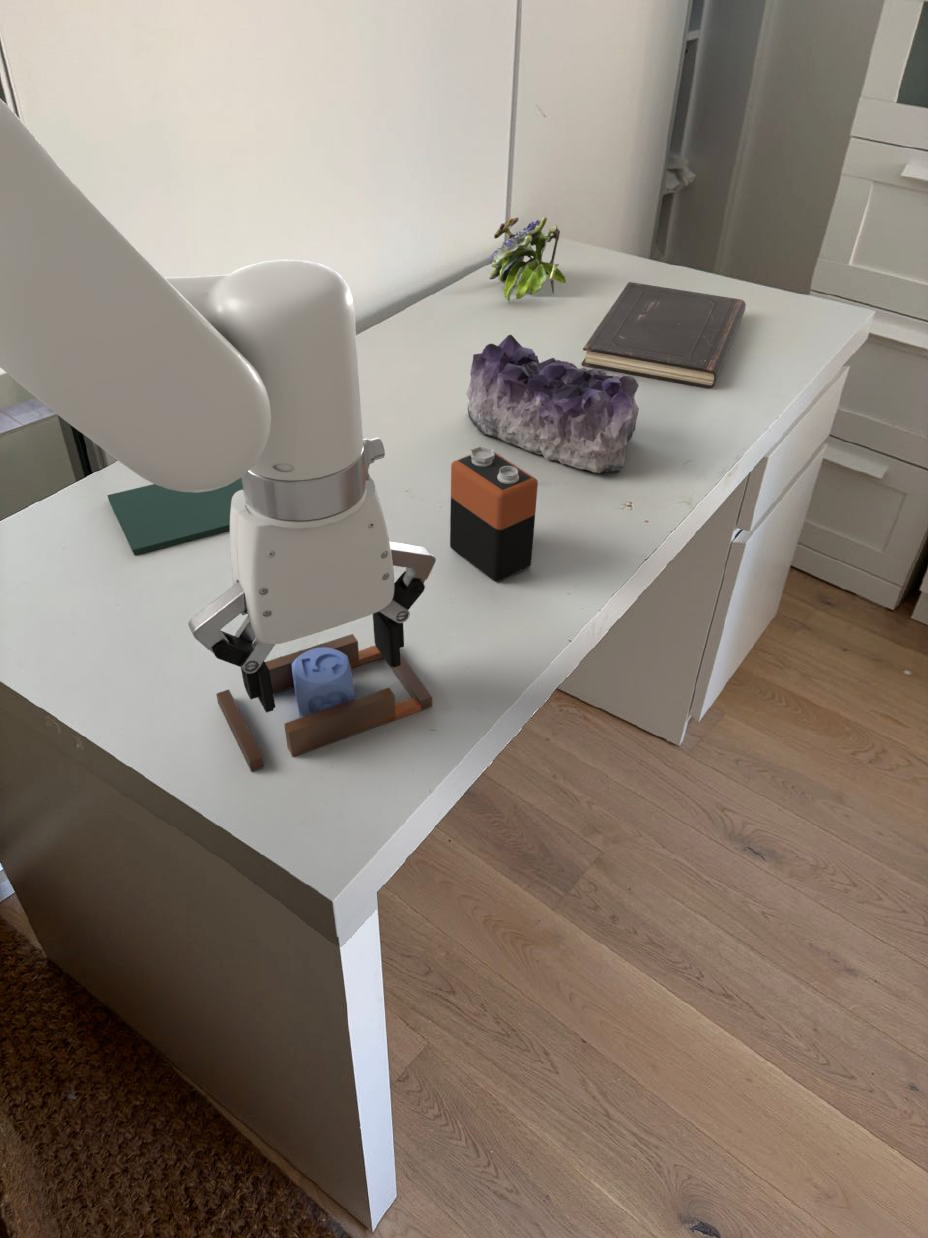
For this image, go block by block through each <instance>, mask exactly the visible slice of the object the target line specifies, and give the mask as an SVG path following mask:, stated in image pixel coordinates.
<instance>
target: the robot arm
mask: <svg viewBox="0 0 928 1238" xmlns="http://www.w3.org/2000/svg"><path fill="white" fill-rule="evenodd" d="M356 329H357V328H356V317H355V306H354V299H353V295H352V292H351V289H350V287H349V285H348V283H347V282H346V281H345V280H344V278H343V277H342V276H341V274H340V273H338V272H337V271H335V270H333V268H331V267H328V266H326V265H324V264H320V263H318V262H313V261H308V260H299V259H275V260H273V259H272V260H266V261H260V262H257V263H251V264H249V265H245V266H242V267H240V268H237V269H235V270H234V271H232V272H231V273H228V274H227V273H226V274H217V275H216V274H213V275H199V276H198V275H197V276H193V275H192V276H164V275H163V274H161V273H160V271H158V270H157V268H156V267H155V266H154V265H152V263H150V261H149V260H148V259H147V258H146V257H145V256H144V255H143V254H142V253H141V252H140V251H139V250H138V249H137V248H136V247H135V246H134V245H133V244H132V243H131V242H130V241H129V240H128V239H127V238H126V237H125V236H124V235H123V234H122V233H121V231H119V229H118V228H116V226H115V225H114V224H112V222H111V221H110V220H109V219H108V218H107V217H106V216H105V215H104V214H103V213H102V212H101V211H100V210H99V209H98V207H96V205H95V204H94V203H93V202H92V201H91V200H90V199H89V198H88V197H87V196H86V195H85V193H84V192H83V191H81V189H80V188H79V187H78V186H77V184H75V183H74V182H73V180H72V179H71V178H70V177H69V175H67V174H66V173H65V171H64V170H63V169H62V168H61V167H60V166H59V164H58V163H57V162H56V161H55V159H54V158H53V156H52V155H50V153H49V152H48V151H47V149H46V148H45V147H44V146H43V144H42V143H41V142H40V141H39V139H38V138H36V136H35V135H34V134H33V133H32V131H31V130H30V129H29V128H28V126H27V125H26V124H25V122H23V120H21V118H20V117H19V116H18V115H17V113H15V112H14V111H13V109H11V107H9V105H8V104H7V103H6V102H5V101H4V100H3V98H1V97H0V369H2V371H4V372H5V373H6V374H7V375H8V376H9V377H11V378H12V379H13V380H15V381H16V382H17V384H19V385H20V386H21V387H23V388H24V389H25V390H26V391H27V392H29V393H30V394H31V395H32V396H34V397H35V398H36V399H37V400H38V401H40V403H42V404H43V405H44V406H46V407H47V408H48V409H50V410H51V411H52V412H54V413H55V414H56V415H57V416H58V417H60V418H61V419H63V420H64V421H65V422H66V423H68V424H69V425H70V426H71V427H72V428H74V429H76V430H77V431H78V432H79V433H81V434H82V435H83V436H85V437H86V438H87V439H89V440H90V441H91V442H93V443H94V444H95V445H96V446H98V447H99V448H101V449H102V450H103V451H105V452H106V453H107V454H108V455H110V456H111V457H113V458H114V459H115V460H116V461H118V462H119V463H121V464H122V465H123V466H125V467H126V468H128V469H129V470H130V471H131V472H133V473H135V474H136V475H138V476H139V477H140V478H142V479H143V480H145V481H148V482H149V483H151V484H156V485H158V486H161V487H164V488H167V489H170V490H175V491H180V492H194V493H199V492H206V491H213V490H216V489H219V488H222V487H225V486H227V485H229V484H231V483H233V482H235V481H236V480H238V479H240V478H241V481H242V487H243V490H240V491H238V492H236V493H235V494H234V495H233V497H232V501H231V511H230V530H229V546H230V561H231V562H230V563H231V572H232V573H231V574H232V582H233V585H232V586H230V588H228V589H227V590H226V591H225V592H223V593H222V594H220V595H219V596H218V597H217V598H216V599H214V600H213V601H212V602H211V603H209V604H208V605H207V606H205V607H204V608H203V609H201V610H200V611H199V612H197V613H196V614H195V615H194V616H193V617H191V618H190V619H189V621H188V623H187V624H188V627H189V629H190V631H191V634H192V636H193V637H194V639H195V640H196V641H198V642H199V643H200V644H201V645H202V646H203V647H204V648H206V649H207V650H208V651H210V652H211V653H212V654H213V655H214V657H215V658H216V659H218V660H220V661H223V662H226V663H229V664H231V665H234V666H237V667H239V668H240V671H241V675H242V676H241V677H242V681H243V686H244V689H245V692H246V694H247V696H248V698H249V699H250V700H253V699H258V701H259V702H260V704H261V706H262V708H263V710H264V712H265V713H266V714H267V713H269V712H272V711H274V709H275V708H276V702H275V696H274V695H275V694H273V689H272V683H271V677H270V672H269V669H268V667H267V665H266V663H265V662H266V661H265V660H266V659H267V658H268V656H269V655H270V653H271V652H272V650H273V649H274V647H275V646H276V645H280V644H285V643H288V642H292V641H295V640H298V639H302V638H305V637H308V636H311V635H314V634H318V633H321V632H324V631H327V630H330V629H333V628H336V627H339V626H342V625H346V624H348V623H351V622H354V621H357V620H359V619H360V620H361V619H363V618H365V617H368V616H371V615H372V623H373V624H372V626H373V638H374V639H373V640H374V646H375V645H376V647H377V649H378V650H379V651H380V653H381V654H382V656H383V657H384V658H383V657H382V658H383V659H384V660H385V662H386V661H387V662H386V663H387V665H388V664H389V665H388V667H393V668H395V667H397V666H400V665H401V660H400V653H401V648H404V647H405V634H404V631H405V630H404V623H405V622H407V620H408V619H410V615H411V612H410V611H409V610H410V608H411V607H412V606H414V604H415V603H416V602H417V600H418V599H419V598H420V597H421V596H422V594H423V593H424V591H425V589H426V586H425V582H426V581H427V580H428V579H429V577H430V575H431V573H432V570H433V568H434V566H435V564H436V561H437V559H436V557H435V556H434V554H433V553H432V552H431V551H430V550H429V548H428V547H427V546H422V545H415V544H409V543H402V542H397V541H390V537H389V531H388V527H387V522H386V520H385V519H386V518H385V514H384V511H383V507H382V503H381V499H380V496H379V493H378V490H377V487H376V484H375V481H374V480H373V478H372V477H371V476H370V473H369V468H370V465H371V464H374V463H375V461H377V460H381V459H385V454H386V451H385V446H384V444H383V441H382V439H381V438H380V437H374V438H371V439H369V438H364V435H363V422H362V407H361V404H362V403H361V392H360V376H359V375H360V374H359V363H358V362H359V361H358V359H359V358H358V348H357V346H358V345H357V330H356ZM394 567H401V568H405V571H404V572H402V573H401V574H400V575H399V577H398V578H397V579H396V581H395V570H394ZM239 615H242V616H246V615H247V616H246V618H245V619H244V620H243V622H242V623H241V625H240V627H238V630H237V631H236V633H235V634H234V635H233V634H231V633H228V632H225V631H223V630H222V629H223V628H224V627H226V626H227V625H228V624H230V622H232V621H233V620H234V619H236V618H237V617H238V616H239Z"/></svg>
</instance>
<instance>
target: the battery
mask: <svg viewBox="0 0 928 1238" xmlns="http://www.w3.org/2000/svg"><path fill="white" fill-rule="evenodd" d="M538 486H539V481H538V479H537V478H536V477H535V476H534V475H532V474H530V473H528V472H527V471H525V470H524V469H522V468H520V467H519V466H518V465H516V464H514V463H513V462H512V461H509V460H508V459H506V458H505V457H503V456H501V455H500V454H499V453H497V452H495V451H494V450H493V448H491V447H486V446H484V445H483V446H482V445H478V446H476V447H473V448H472V449H470V450H469V455H466V456H464V457H461V458H458V459H456V460H454V461H452V462H451V464H450V517H449V518H450V519H449V520H450V521H449V522H450V523H449V547H450V549H452V551H454V552H455V553H456V554H458V555H459V556H460V557H462V558H463V559H464V560H466V561H467V562H468V563H470V564H471V565H472V566H473V567H475V568H476V569H478V570H479V571H480V572H481V573H483V574H484V575H486V577H488V578H490V579H491V580H492V581H493V582H496V583H497V582H500V581H502V580H504V579H507V578H508V577H510V576H512V575H514V574H518V573H519V572H521V571H523V570H525V569H527V568H529V567H530V566H531V565H532V560H533V547H534V535H535V525H536V522H535V521H536V513H537V511H536V509H537V499H538V498H537V497H538Z"/></svg>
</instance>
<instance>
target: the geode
mask: <svg viewBox="0 0 928 1238" xmlns="http://www.w3.org/2000/svg"><path fill="white" fill-rule="evenodd" d="M639 387H640V384H639V382H638V381H637V380H636V379H635V377H633V376H632V375H622V374H614V375H609V374H607V373H606V372H605V371H604V370H602V369H598V368H591V369H587V368H584V367H580V368H578V366H576V365H575V364H574V363H572V362H569V361H564V360H559V359H557V360H556V359H555V358H554V357H550V358H549V359H546V360H544V361H541V362H540V360H539V357H538V355H536V353H535V351H534V350H533V349H532V348H529V347H526V346H525V347H524V346H522V344H520V343H519V342H518V340H517V339H516V338H515V337H514V336H513V335H512V334H508V335H506V337H505V338H504V339H503V340H502V341H501V342H500V343H499V344H498V345H496V344H494V343H488V344H486V345H485V347H484V349H482V351H481V353H474V354H472V362H471V368H470V381H469V385H468V387H467V389H466V396H467V399H468V401H467V414H468V418H469V419H470V421H471V423H472V424H473V426H474V427H476V429H477V430H478V431H479V432H480V434H482V435H486V436H488V437H492V438H495V439H497V440H500V441H503V442H505V443H509V444H512V445H514V446H516V447H518V448H521V449H523V450H525V451H527V452H530V453H533V454H534V455H542V456H543V458H544V459H545V460H547V461H557V462H559V463H560V464H562V465H567V466H569V467H572V468H576V469H578V470H586V471H589V472H592V473H595V474H602V473H604V472H607V473H608V474H617V473H619V472H621V471H622V470H623V468H624V465H625V462H626V461H625V460H626V456H627V455H626V454H627V452H626V449H627V446H628V443H629V441H630V440H631V439H632V437H633V433H634V432H635V430H636V424H637V419H638V415H639V410H640V408H639V406H638V404H637V401H636V399H635V397H636V393H637V391H638V389H639Z"/></svg>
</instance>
